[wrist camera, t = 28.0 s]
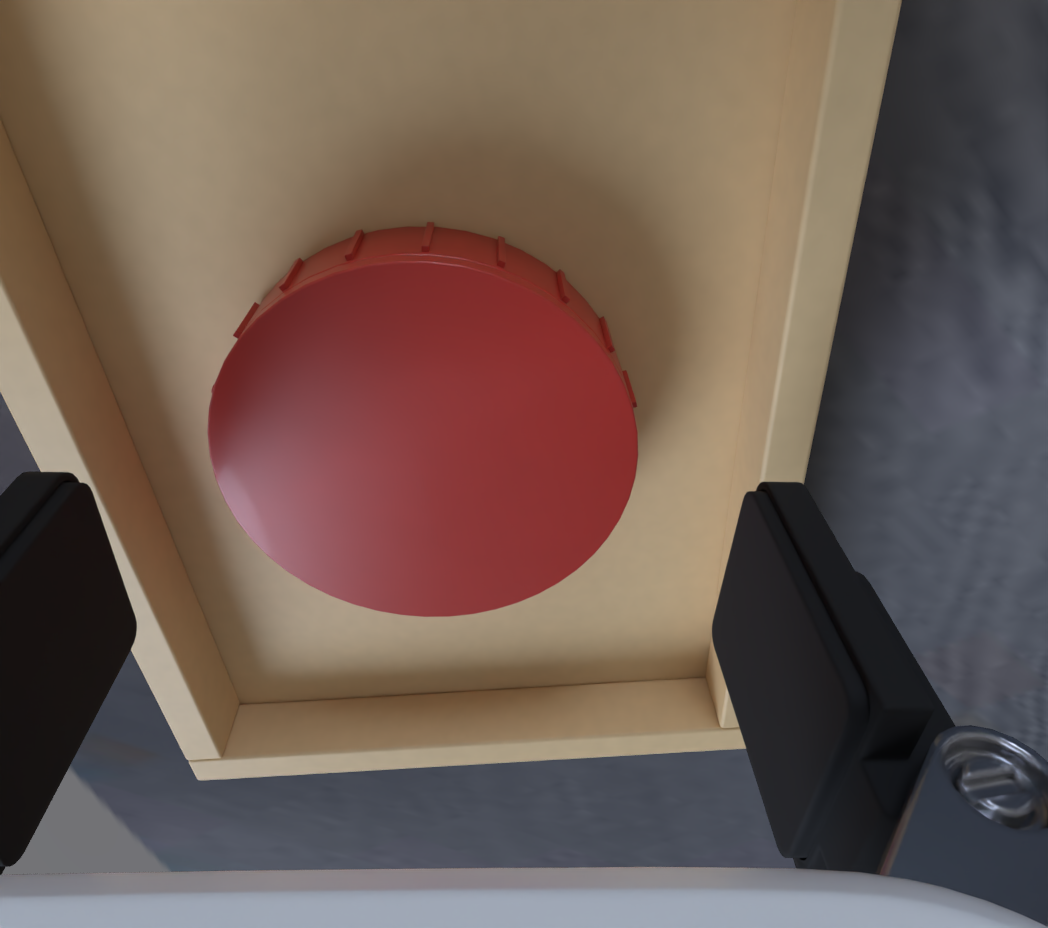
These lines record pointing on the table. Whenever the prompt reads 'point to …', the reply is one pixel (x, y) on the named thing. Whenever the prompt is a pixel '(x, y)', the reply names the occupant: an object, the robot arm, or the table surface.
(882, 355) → the table surface
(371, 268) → the jar lid
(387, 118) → the tray
